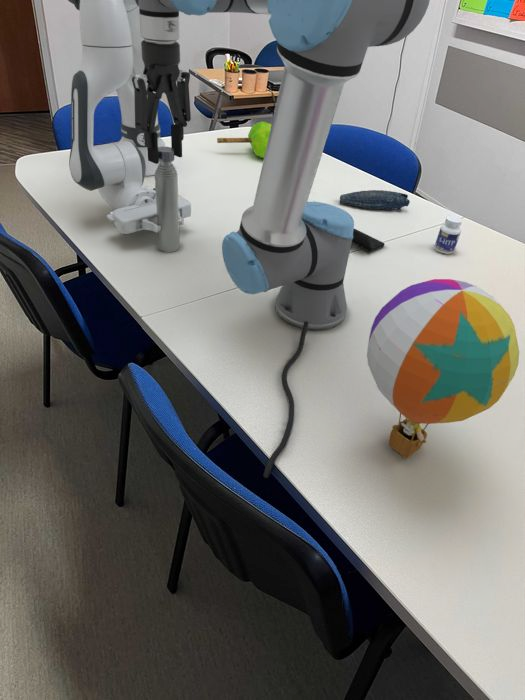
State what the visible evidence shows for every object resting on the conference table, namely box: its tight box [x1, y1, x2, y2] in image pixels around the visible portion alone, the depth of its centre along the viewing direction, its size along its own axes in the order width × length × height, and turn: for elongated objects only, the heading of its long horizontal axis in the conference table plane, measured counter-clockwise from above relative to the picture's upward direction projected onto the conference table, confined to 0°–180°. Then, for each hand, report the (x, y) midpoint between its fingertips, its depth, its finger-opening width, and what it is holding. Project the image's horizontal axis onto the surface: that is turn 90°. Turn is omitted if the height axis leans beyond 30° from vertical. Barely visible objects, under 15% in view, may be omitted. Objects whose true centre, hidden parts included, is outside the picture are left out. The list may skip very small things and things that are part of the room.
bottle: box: [154, 161, 180, 253], centre depth 123 cm, size 5×5×24 cm
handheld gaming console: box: [351, 228, 385, 253], centre depth 138 cm, size 12×7×10 cm
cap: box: [158, 146, 175, 162], centre depth 116 cm, size 4×4×2 cm
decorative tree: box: [216, 121, 272, 159], centre depth 186 cm, size 18×10×30 cm
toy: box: [366, 278, 520, 459], centre depth 74 cm, size 20×20×30 cm
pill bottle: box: [434, 215, 463, 255], centre depth 137 cm, size 5×5×9 cm
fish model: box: [339, 189, 411, 211], centre depth 158 cm, size 7×21×5 cm, turn 84°
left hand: (170, 225), depth 126 cm, fingers closed on bottle, 5 cm apart
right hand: (165, 158), depth 116 cm, fingers open, 6 cm apart
